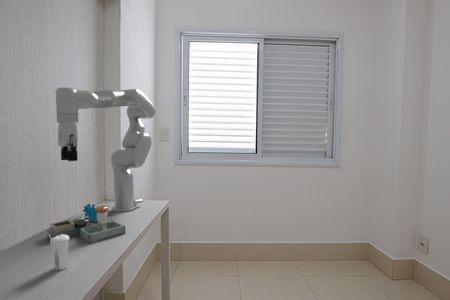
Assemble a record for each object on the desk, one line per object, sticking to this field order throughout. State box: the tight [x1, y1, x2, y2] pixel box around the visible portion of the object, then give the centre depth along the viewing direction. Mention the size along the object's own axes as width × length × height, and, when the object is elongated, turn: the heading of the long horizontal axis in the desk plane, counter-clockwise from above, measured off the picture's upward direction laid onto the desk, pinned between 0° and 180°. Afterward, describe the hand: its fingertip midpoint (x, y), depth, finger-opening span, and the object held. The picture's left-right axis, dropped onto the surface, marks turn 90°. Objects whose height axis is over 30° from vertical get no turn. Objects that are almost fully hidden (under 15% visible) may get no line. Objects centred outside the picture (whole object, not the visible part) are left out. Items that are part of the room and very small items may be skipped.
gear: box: [82, 203, 97, 223], centre depth 112 cm, size 11×6×10 cm
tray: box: [79, 219, 126, 244], centre depth 94 cm, size 13×10×3 cm
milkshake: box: [48, 233, 71, 271], centre depth 70 cm, size 4×5×10 cm
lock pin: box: [95, 205, 109, 232], centre depth 94 cm, size 4×4×10 cm
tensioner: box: [46, 217, 96, 241], centre depth 95 cm, size 14×8×6 cm, turn 137°
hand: (69, 160), depth 101 cm, fingers open, 9 cm apart
